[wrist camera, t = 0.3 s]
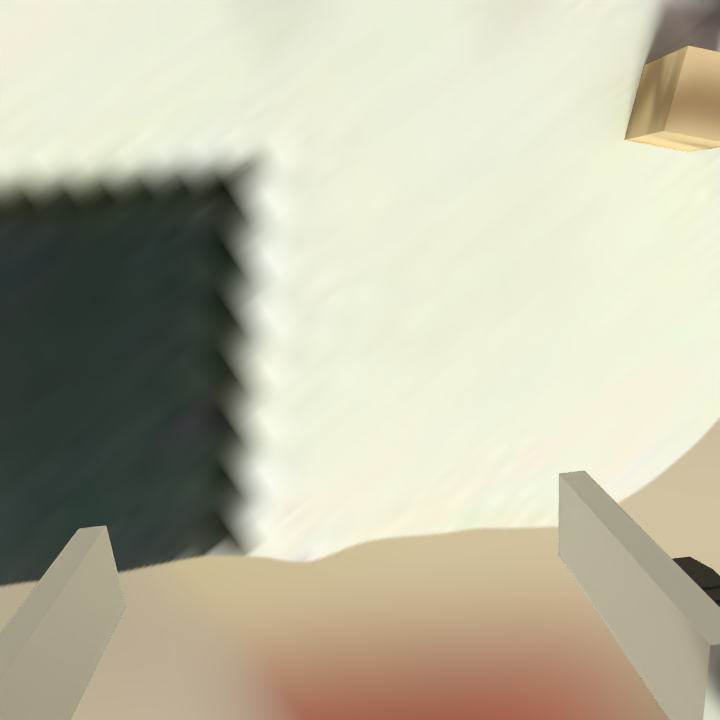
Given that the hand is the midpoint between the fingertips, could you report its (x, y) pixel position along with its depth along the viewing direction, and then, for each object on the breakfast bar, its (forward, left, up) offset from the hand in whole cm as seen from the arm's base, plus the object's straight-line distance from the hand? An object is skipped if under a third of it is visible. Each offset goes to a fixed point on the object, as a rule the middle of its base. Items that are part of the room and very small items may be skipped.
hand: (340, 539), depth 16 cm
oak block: (-14, +26, -28) cm, 40 cm away
